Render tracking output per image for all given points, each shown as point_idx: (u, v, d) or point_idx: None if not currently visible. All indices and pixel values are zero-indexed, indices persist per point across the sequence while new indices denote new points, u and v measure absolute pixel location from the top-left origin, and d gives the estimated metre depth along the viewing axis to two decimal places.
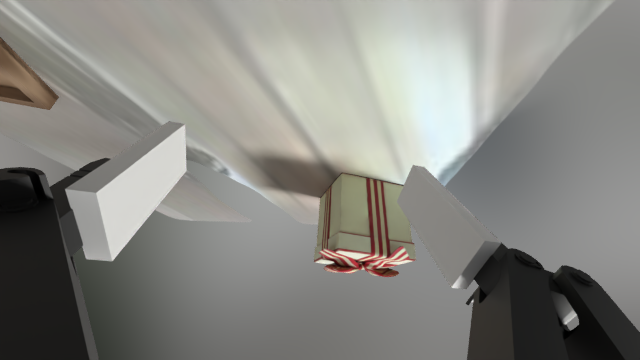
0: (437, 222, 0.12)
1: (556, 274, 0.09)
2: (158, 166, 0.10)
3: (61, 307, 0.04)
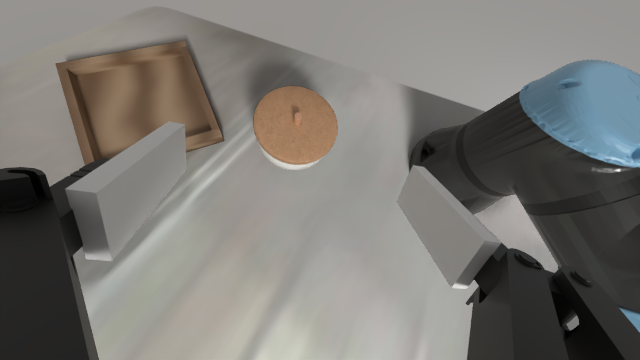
0: (437, 222, 0.12)
1: (556, 274, 0.09)
2: (158, 166, 0.10)
3: (61, 307, 0.04)
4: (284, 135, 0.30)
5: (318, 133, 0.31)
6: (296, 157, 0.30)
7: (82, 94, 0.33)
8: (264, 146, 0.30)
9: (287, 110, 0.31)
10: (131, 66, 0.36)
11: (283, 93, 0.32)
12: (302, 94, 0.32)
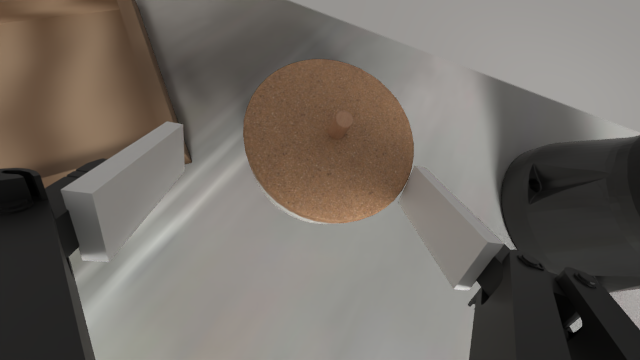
0: (439, 223, 0.12)
1: (559, 275, 0.09)
2: (156, 166, 0.10)
3: (57, 308, 0.04)
4: (310, 161, 0.14)
5: (379, 156, 0.15)
6: (337, 210, 0.14)
7: None
8: (266, 186, 0.13)
9: (315, 107, 0.15)
10: (22, 22, 0.19)
11: (306, 71, 0.15)
12: (344, 76, 0.16)
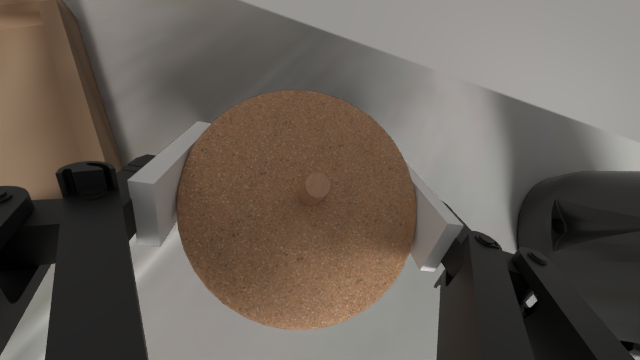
0: None
1: (515, 256, 0.10)
2: None
3: (122, 287, 0.05)
4: (273, 242, 0.10)
5: (369, 225, 0.11)
6: (311, 313, 0.10)
7: None
8: (208, 286, 0.09)
9: (281, 160, 0.11)
10: None
11: (269, 110, 0.11)
12: (322, 112, 0.12)
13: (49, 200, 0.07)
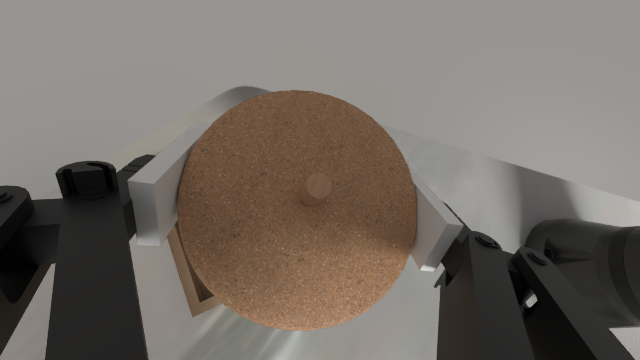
0: None
1: (515, 256, 0.10)
2: None
3: (122, 288, 0.05)
4: (274, 242, 0.10)
5: (370, 225, 0.11)
6: (312, 314, 0.10)
7: None
8: (209, 286, 0.09)
9: (282, 160, 0.11)
10: None
11: (270, 110, 0.11)
12: (322, 113, 0.12)
13: (49, 200, 0.07)
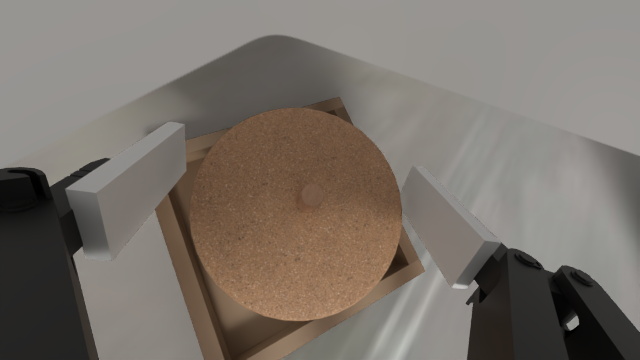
0: (437, 222, 0.12)
1: (556, 274, 0.09)
2: (158, 166, 0.10)
3: (61, 307, 0.04)
4: (274, 244, 0.11)
5: (359, 228, 0.12)
6: (307, 307, 0.11)
7: (180, 205, 0.18)
8: (218, 282, 0.11)
9: (281, 172, 0.12)
10: None
11: (270, 126, 0.13)
12: (317, 128, 0.13)
13: None
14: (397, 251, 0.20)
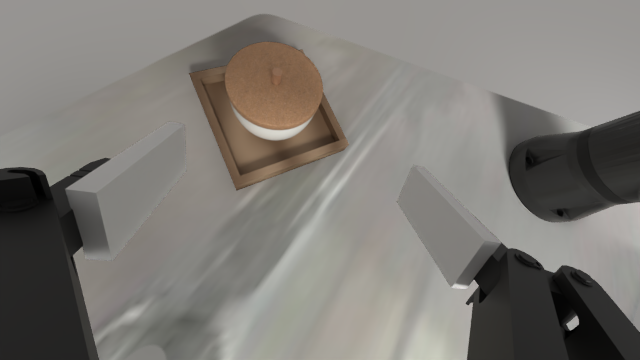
0: (437, 222, 0.12)
1: (556, 274, 0.09)
2: (158, 166, 0.10)
3: (61, 307, 0.04)
4: (261, 95, 0.26)
5: (300, 94, 0.27)
6: (275, 120, 0.26)
7: (211, 104, 0.33)
8: (237, 107, 0.25)
9: (264, 67, 0.27)
10: None
11: (259, 48, 0.28)
12: (282, 51, 0.28)
13: None
14: (334, 135, 0.35)
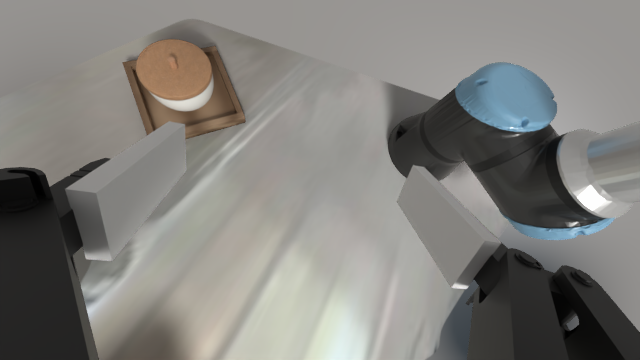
0: (437, 222, 0.12)
1: (556, 274, 0.09)
2: (158, 166, 0.10)
3: (61, 307, 0.04)
4: (161, 76, 0.38)
5: (191, 75, 0.39)
6: (170, 93, 0.37)
7: (140, 85, 0.45)
8: (143, 83, 0.37)
9: (166, 57, 0.39)
10: None
11: (164, 44, 0.39)
12: (181, 45, 0.40)
13: None
14: (235, 110, 0.47)
